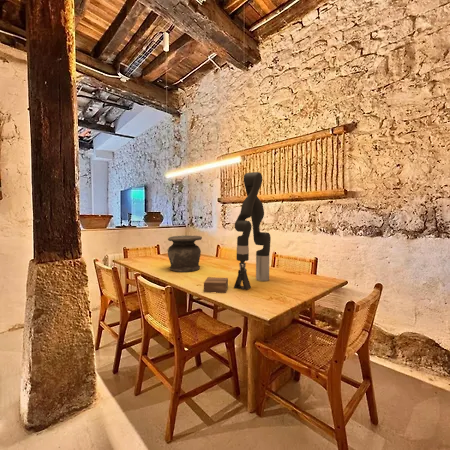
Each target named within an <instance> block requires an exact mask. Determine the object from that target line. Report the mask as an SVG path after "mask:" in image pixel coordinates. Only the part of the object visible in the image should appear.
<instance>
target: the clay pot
mask: <svg viewBox="0 0 450 450" xmlns="http://www.w3.org/2000/svg"><path fill="white" fill-rule="evenodd" d="M167 240H168V241H169V242H172V244H171V246H169V247H168V248H167V257H168V260H169V263H170V267H169V270H170V271H174V272H178V273H187V272H195V271H198V270H199V269H200V268H201V266H200V265H199V263H200V259H201V254H202V253H201V252H202V251H201V248H200V247H199V245H197V244H195V242H196V241H201V240H202V236H201V235H174V236H169V237H168V238H167Z"/></svg>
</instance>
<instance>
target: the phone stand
mask: <svg viewBox="0 0 450 450" xmlns="http://www.w3.org/2000/svg"><path fill="white" fill-rule="evenodd" d="M240 272H244V271H240V269H238V270H237V277H236V280H235V283H234V286H233V289H236V290H242V291H243V290H244V291H247V290H249V289H251V288H252V286H251V283H250V281H249V276H248V270H247V268H246V267H245V274H244V281H243V280H241V274H240Z"/></svg>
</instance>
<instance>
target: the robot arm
mask: <svg viewBox="0 0 450 450" xmlns="http://www.w3.org/2000/svg"><path fill="white" fill-rule="evenodd" d="M262 183H263V175H262V173H260V172H259V171H253V172H246V173H245V174H244V175H243V184H244V189H245V192H246V195H247V196H246V198H245V199H244V200H243V202H242V204H241V208H240V212H239V215H238V216H237V218H236V221H235V222H234V229H235V231H236V232H240V233H242V234H241V235H238V236H237V238H236V261H239V264H238V265H239V270H240V271H244V272H240V274H241V280H243V281H244V274H245V268H246V266H247V264H246V262H248V261H249V259H250V257H249V256H250V255H249V254H250V252H249V250H250V249H249V238H250V237H251V236H250V235H251V232H252V235H253V242H254V244H255V245H257V246H262V248H261V249H258V250H257V251H256V252H255V257H256V258H255V280H256V281H259V282H269V281H270V254H271V253H270V252H271V234H270V233H269V232H268V231H267V232H266V231H265V232H263V231H262V232H261V231H260V225H261V223H262V221H263V219H264V216H265V208H264V204H263V202H262V200H260V198H259V196H258V194H259V192H260V188H261V187H262ZM250 218H251V221H249V220H247V219H250Z"/></svg>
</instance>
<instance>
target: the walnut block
mask: <svg viewBox="0 0 450 450" xmlns="http://www.w3.org/2000/svg"><path fill="white" fill-rule="evenodd" d="M228 283H229V277H216V276H215V277H210V276H209V277H207V278H206V279H205V280H204V282H203V293H211V292H216V293H215V294H217V293H218V294H226V293H227V290H228V287H229V284H228Z"/></svg>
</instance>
